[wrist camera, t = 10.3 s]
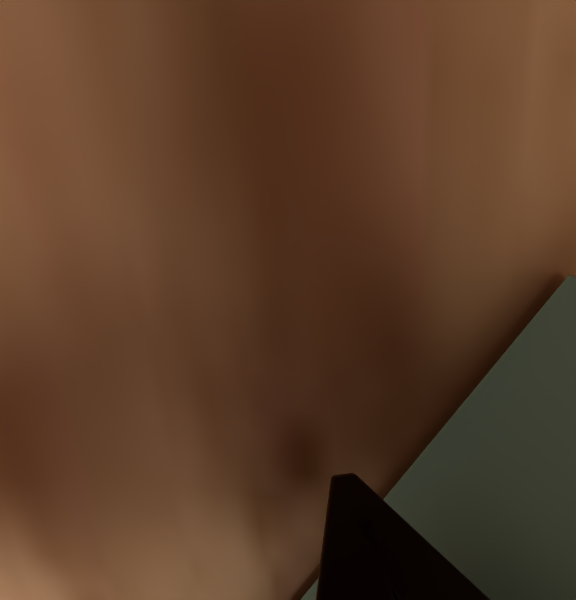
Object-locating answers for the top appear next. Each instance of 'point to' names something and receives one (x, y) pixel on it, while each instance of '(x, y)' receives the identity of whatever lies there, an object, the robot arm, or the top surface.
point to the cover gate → (507, 469)
